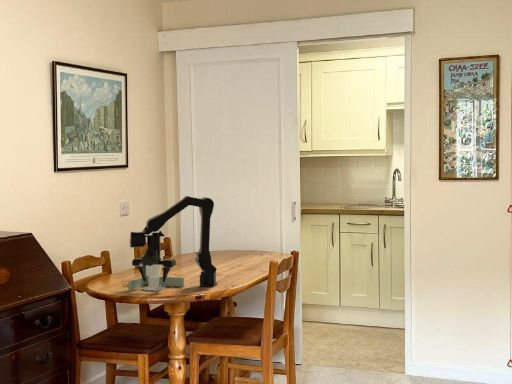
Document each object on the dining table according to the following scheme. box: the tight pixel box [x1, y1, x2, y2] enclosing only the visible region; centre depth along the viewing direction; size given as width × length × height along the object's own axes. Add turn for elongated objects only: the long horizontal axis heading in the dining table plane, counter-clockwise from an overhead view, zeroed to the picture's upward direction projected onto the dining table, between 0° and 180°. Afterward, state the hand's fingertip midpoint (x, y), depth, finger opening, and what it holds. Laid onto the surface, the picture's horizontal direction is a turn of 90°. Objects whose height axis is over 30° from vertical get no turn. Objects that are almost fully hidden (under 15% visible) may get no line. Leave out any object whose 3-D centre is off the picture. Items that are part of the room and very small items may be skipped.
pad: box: [140, 286, 168, 292], centre depth 298 cm, size 8×11×1 cm
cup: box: [146, 256, 164, 276], centre depth 316 cm, size 10×10×11 cm
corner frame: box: [127, 275, 185, 292], centre depth 298 cm, size 20×16×4 cm
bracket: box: [143, 276, 160, 290], centre depth 296 cm, size 6×5×5 cm
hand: (154, 281), depth 298 cm, fingers open, 9 cm apart
